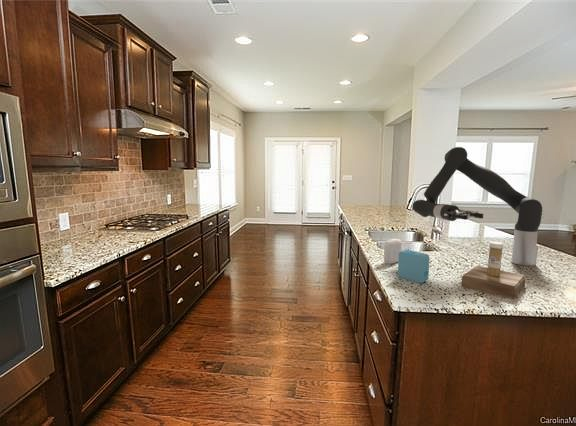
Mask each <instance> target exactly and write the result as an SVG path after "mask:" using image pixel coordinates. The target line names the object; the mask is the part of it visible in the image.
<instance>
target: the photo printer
mask: <svg viewBox="0 0 576 426" xmlns="http://www.w3.org/2000/svg"><path fill="white" fill-rule="evenodd" d="M402 245H403V244H402V241H401V239H398V238H390V239H388V240H386V241H385V243H384V245H383V246H384V247H383V250H384V251H383V262H384V264H386V265H390V264H395V263H398V256H399V252H401V251H402Z"/></svg>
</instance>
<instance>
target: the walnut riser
mask: <svg viewBox="0 0 576 426" xmlns="http://www.w3.org/2000/svg"><path fill="white" fill-rule="evenodd" d="M487 271H488V267H485V266H480V265H476V266H474V267H472V269H470V270H468V271H466V272H465V273H464V274H463V275H462V276H461V285H460V286H461V288H462V287H463V288H466V289H470V290H474V291H478V292H481V293H482V292H483V293H486V294H490V295H494V296H499V297H501V298H502V297H503V298H506V299H510V300H514V301H515V300H516V298H517V297H518V296H519V295H520V294H521V292H522V291H523V289H524V288H525V285H526V275H524V274H522V273H521V274H520V273H515V272H510V271H506V270H501V269H500V276H491V275H488V274H487Z"/></svg>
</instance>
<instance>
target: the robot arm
mask: <svg viewBox="0 0 576 426" xmlns="http://www.w3.org/2000/svg"><path fill="white" fill-rule="evenodd" d="M444 161H445V162H444V164H443V166H442V168H441V169H440V170H439V172H438V173H437V174H436V176H434V178H433V179H432V180H431V182H430V183H429V185H428V186H427V188H426V189H425V191H424V192H423V196H424V197H425V199H426V200H424V199H417V200H415V201H414V202H413V203H412V205H411V206H412V207H411V208H412V210H413V212H415V213H416V214H418V215H419V216H421V217H422V218H427V217H432V218H437V219H439V220H443V221H450V222H455V221H457V220H468V219H470V218H474V219H475V218H476V219H483V218H484V213H482V212H479V211H477V210H470V209H469V210H468V209H466V210H465V209H459V207H458V206H457V205H455V204H448V203H437V200H438V198H439V197H440V195H441V194H442V192H443V190H444V189H445V187H446V186H447V184H448V183H449V181H450V179H451V178H452V177H453V175H454V174H455V172H456V171H459V172H460V173H461V174H462V175H465V176H466V177H467V178H469V180H471V181H473V182H474V183H475V184H476V185H478V186H480V188H482V189H484V190H485V191H486V192H487V193H489V194H490V195H493V196H495V197H496V198H498V199H500V200H501V201H503V202H505V203H506V204H507V205H508V206H509V207H511V208H512V209H513V210H514V211H515V212H516V213H517V214H518V218H517V222H516V223H515V224H514V230H513V231H514V233H513V242H512V251H511V252H512V253H511V263H512V264H514V265H520V266H526V267H527V266H528V267H529V266H530V267H531V266H532V267H533V266H535V265H536V266H537V261H538V260H537V259H538V251H539V246H538V245H537V241H538V235H539V234H538V231H539V227H540V226H541V222H542V215H543V205H542V203H541V202H540V201H539V200H537V199H535V198H531V197H528V196H526V195H524V194H523V193H521V192H519V191H517V190H516V189H515V188H513V186H511V185H510V183H508V181H507V180H506V179H505V178H504V177H502V176H500V174H498V173H497V172H495V171H493V170H491V169H489V168H487V167H484V166H481V165H480V164H477V163H474V162H473V161H472V160H470V159H469V158H468V151H467V149H466V148H464V147H462V146H456V147H453V148H451V149H450V150H448V151H447V152H446V153H445V154H444Z"/></svg>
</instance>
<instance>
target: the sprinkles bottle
mask: <svg viewBox="0 0 576 426" xmlns="http://www.w3.org/2000/svg"><path fill="white" fill-rule="evenodd" d="M503 249H504V243H503V242H499V241H490V242H489V253H488V259H487V268H488V271H487V274H488V275H491V276H500V270H501V268H502V267H501V266H502V258H503V257H502V256H503Z"/></svg>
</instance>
